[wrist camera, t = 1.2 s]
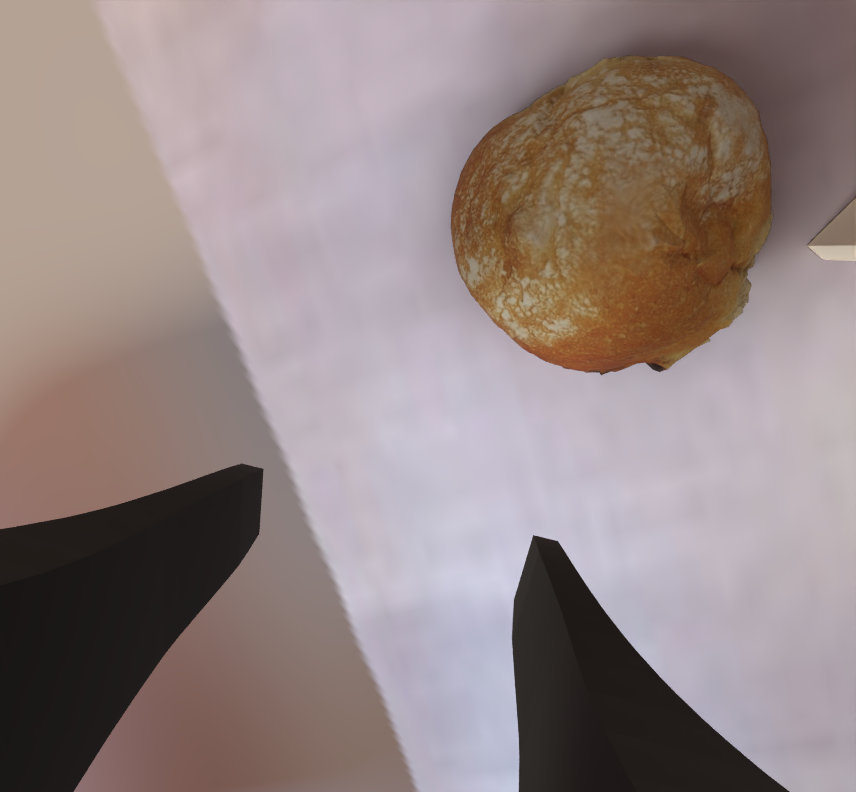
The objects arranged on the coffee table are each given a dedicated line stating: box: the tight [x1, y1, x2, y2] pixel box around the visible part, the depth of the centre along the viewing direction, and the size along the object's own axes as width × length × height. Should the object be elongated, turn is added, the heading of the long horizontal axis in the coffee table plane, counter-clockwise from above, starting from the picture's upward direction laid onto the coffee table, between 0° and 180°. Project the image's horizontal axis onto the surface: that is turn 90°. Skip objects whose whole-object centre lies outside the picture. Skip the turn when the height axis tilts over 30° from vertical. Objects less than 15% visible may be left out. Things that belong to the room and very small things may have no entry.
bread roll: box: [451, 55, 773, 375], centre depth 16 cm, size 10×10×8 cm
